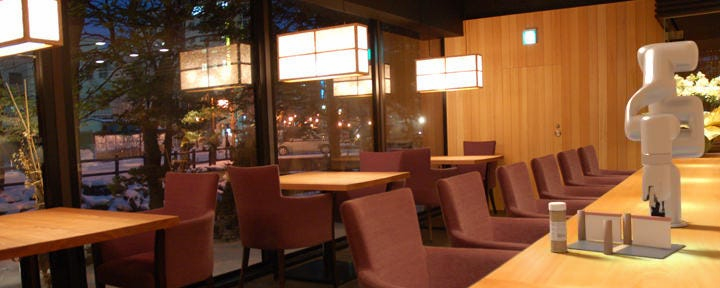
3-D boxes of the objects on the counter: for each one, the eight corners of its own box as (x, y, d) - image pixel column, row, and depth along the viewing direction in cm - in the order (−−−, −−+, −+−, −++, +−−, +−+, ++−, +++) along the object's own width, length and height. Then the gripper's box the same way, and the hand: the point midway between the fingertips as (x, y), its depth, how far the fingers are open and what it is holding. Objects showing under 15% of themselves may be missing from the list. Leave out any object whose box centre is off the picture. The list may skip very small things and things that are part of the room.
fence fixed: (579, 239, 182) (579, 209, 182) (633, 245, 172) (632, 213, 171) (555, 248, 170) (554, 216, 170) (611, 255, 160) (610, 221, 160)
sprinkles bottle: (566, 249, 168) (565, 201, 168) (568, 253, 164) (567, 203, 164) (549, 249, 169) (547, 201, 169) (550, 253, 165) (549, 203, 165)
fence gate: (632, 243, 170) (631, 215, 169) (634, 242, 171) (634, 214, 170) (669, 248, 162) (668, 218, 161) (672, 247, 163) (671, 217, 162)
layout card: (592, 237, 186) (592, 235, 186) (685, 246, 168) (685, 244, 168) (563, 248, 171) (563, 246, 171) (661, 259, 153) (661, 257, 153)
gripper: (651, 158, 175) (652, 221, 176) (632, 161, 164) (634, 229, 165) (679, 158, 170) (681, 223, 170) (662, 162, 159) (664, 231, 160)
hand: (658, 226), depth 168 cm, fingers closed
